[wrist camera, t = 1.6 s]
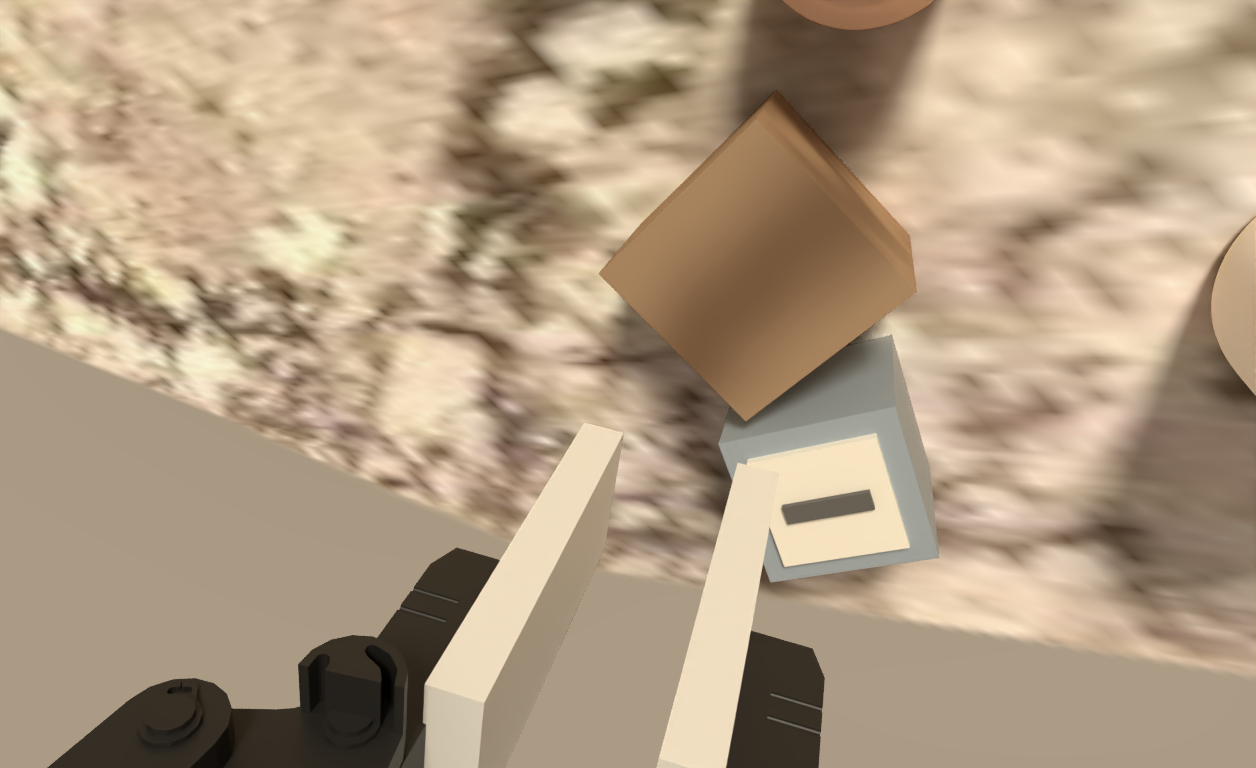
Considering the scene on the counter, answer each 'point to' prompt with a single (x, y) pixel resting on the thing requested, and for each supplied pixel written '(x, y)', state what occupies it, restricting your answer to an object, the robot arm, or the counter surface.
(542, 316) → the counter surface
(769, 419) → the slate block
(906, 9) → the terracotta cylinder
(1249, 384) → the cup
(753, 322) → the walnut block
